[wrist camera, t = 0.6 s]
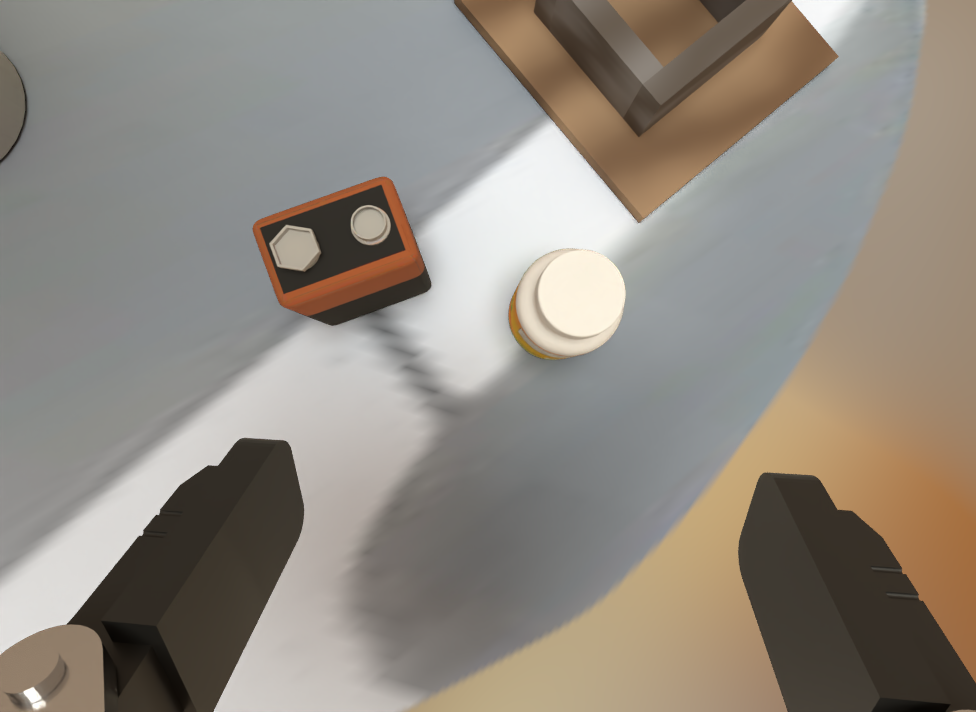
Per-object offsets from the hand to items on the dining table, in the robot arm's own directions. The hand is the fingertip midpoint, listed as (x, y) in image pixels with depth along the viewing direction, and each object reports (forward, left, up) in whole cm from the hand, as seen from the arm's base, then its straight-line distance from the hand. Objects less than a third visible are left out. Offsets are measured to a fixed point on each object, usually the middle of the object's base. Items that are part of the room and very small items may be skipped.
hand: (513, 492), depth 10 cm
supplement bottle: (-2, +7, -25) cm, 26 cm away
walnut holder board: (-12, +23, -25) cm, 36 cm away
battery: (-11, 0, -25) cm, 27 cm away
